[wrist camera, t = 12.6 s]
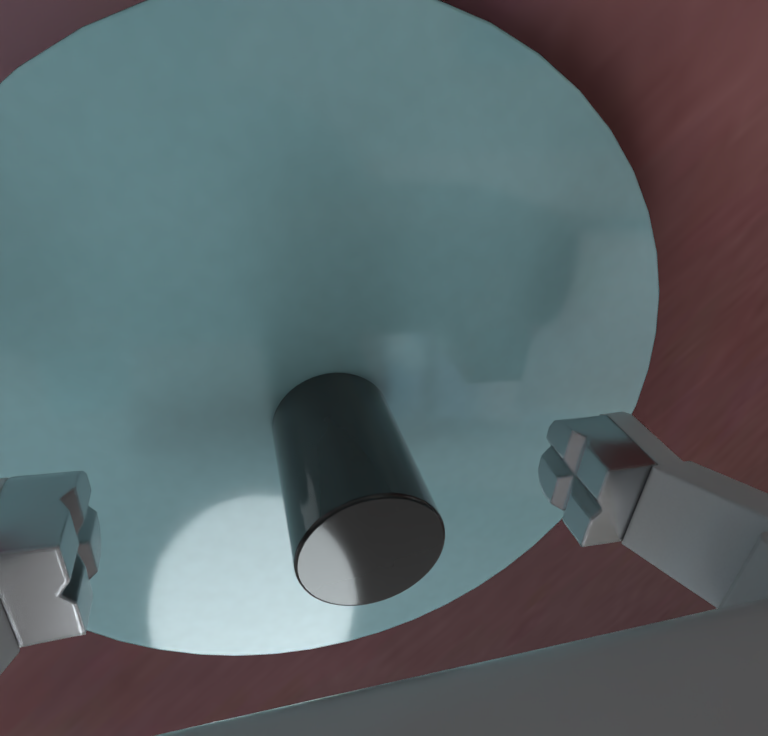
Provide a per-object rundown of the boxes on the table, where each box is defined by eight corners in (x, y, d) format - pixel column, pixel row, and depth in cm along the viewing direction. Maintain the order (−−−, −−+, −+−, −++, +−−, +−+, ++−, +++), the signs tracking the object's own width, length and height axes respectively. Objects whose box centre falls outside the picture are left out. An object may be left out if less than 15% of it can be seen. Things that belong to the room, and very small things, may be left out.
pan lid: (-341, 346, 9) (-755, 591, 5) (471, -264, 8) (728, -540, 4) (255, 686, 17) (269, 874, 13) (685, 418, 16) (833, 540, 12)
